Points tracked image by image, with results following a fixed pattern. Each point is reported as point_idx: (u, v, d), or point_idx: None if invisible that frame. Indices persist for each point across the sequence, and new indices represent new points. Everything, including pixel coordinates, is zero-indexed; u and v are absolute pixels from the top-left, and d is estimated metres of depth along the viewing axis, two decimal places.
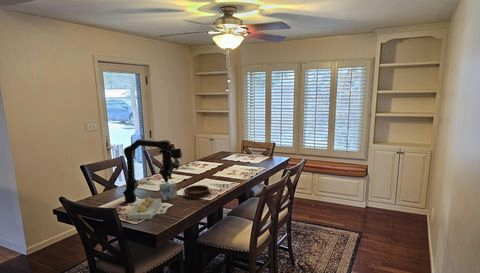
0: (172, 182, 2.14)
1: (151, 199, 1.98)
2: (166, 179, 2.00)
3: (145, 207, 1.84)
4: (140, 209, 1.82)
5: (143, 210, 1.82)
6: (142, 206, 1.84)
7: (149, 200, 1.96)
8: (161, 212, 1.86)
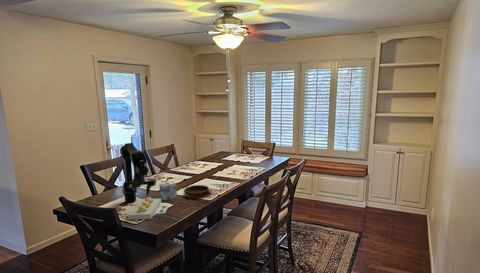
0: (172, 182, 2.14)
1: (151, 199, 1.98)
2: None
3: (145, 207, 1.84)
4: (140, 209, 1.82)
5: (143, 210, 1.82)
6: (142, 206, 1.84)
7: (149, 200, 1.96)
8: (161, 212, 1.86)
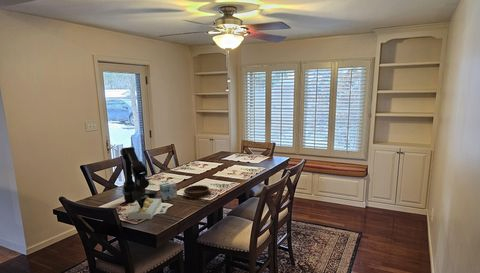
0: (172, 182, 2.14)
1: (151, 199, 1.98)
2: None
3: (145, 209, 1.84)
4: (140, 211, 1.82)
5: None
6: (142, 208, 1.84)
7: (149, 200, 1.96)
8: (161, 212, 1.86)
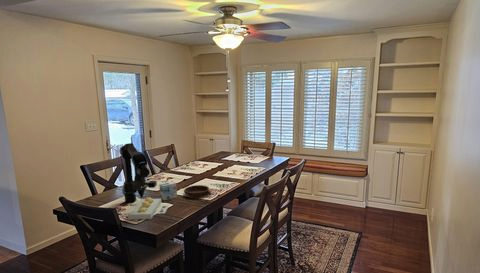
0: (172, 182, 2.14)
1: (151, 199, 1.98)
2: None
3: (145, 209, 1.84)
4: (140, 211, 1.82)
5: None
6: (142, 208, 1.84)
7: (149, 200, 1.96)
8: (161, 212, 1.86)
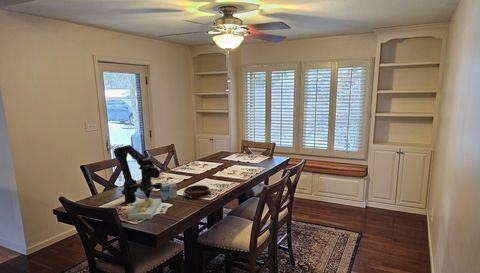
0: (172, 182, 2.14)
1: (151, 199, 1.98)
2: None
3: (145, 209, 1.84)
4: (140, 211, 1.82)
5: None
6: (142, 208, 1.84)
7: (149, 200, 1.96)
8: (161, 212, 1.86)
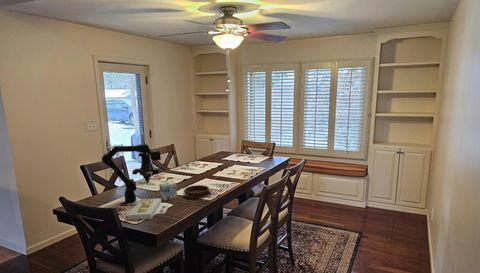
0: (172, 182, 2.14)
1: (151, 201, 1.98)
2: None
3: (145, 209, 1.84)
4: (140, 211, 1.82)
5: None
6: (142, 208, 1.84)
7: (149, 202, 1.96)
8: (161, 212, 1.86)
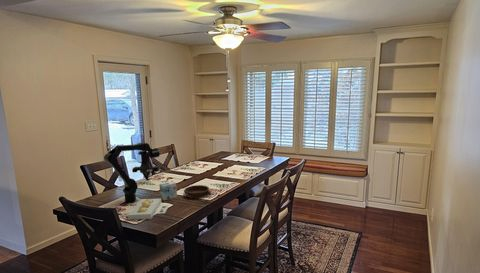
0: (172, 182, 2.14)
1: (151, 201, 1.98)
2: None
3: (145, 209, 1.84)
4: (140, 211, 1.82)
5: None
6: (142, 208, 1.84)
7: (149, 202, 1.96)
8: (161, 212, 1.86)
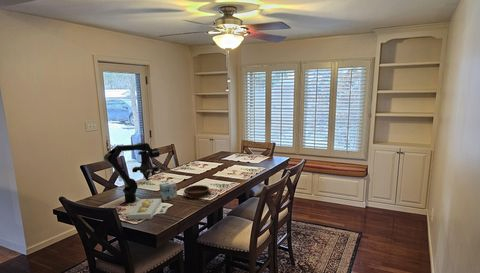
0: (172, 182, 2.14)
1: (151, 201, 1.98)
2: None
3: (145, 209, 1.84)
4: (140, 211, 1.82)
5: None
6: (142, 208, 1.84)
7: (149, 202, 1.96)
8: (161, 212, 1.86)
